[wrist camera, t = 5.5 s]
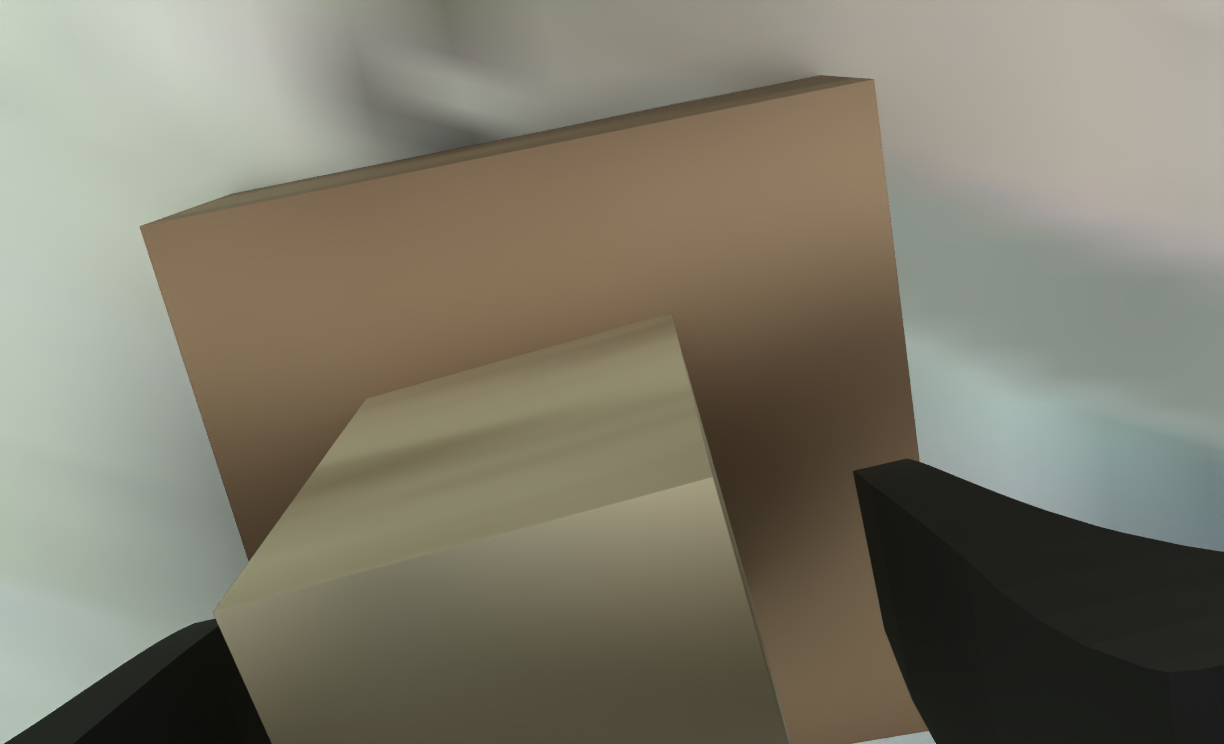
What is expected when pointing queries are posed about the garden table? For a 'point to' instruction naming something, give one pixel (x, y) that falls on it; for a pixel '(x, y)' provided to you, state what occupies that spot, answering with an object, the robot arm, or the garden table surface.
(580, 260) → the walnut box
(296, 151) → the garden table surface
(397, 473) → the brass block
